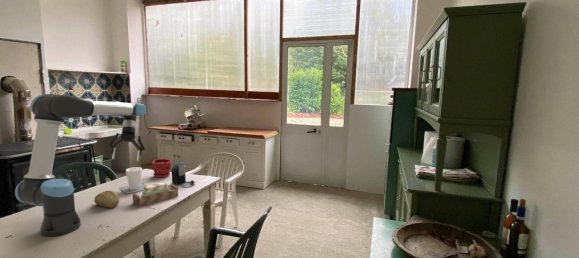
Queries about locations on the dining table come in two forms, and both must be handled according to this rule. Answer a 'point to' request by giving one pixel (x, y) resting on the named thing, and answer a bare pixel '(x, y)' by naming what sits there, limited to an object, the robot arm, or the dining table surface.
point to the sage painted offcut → (155, 192)
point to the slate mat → (129, 191)
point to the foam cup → (134, 177)
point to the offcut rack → (155, 197)
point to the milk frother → (179, 173)
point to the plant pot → (161, 167)
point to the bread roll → (107, 199)
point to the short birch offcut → (155, 187)
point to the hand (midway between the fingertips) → (125, 159)
